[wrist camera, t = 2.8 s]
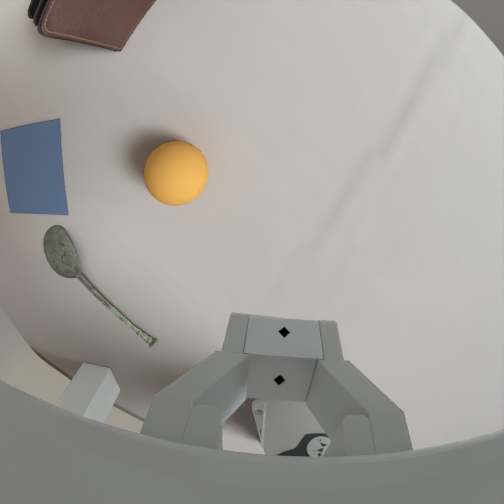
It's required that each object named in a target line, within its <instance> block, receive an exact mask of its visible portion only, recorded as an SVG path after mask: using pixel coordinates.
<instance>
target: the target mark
mask: <svg viewBox="0 0 504 504" xmlns="http://www.w3.org/2000/svg"><path fill="white" fill-rule="evenodd" d="M1 145H2V157H3V167H4V175H5V183H6V189H7V196H8V202H9V208H10V213H33V214H54V215H68V208H67V201H66V193H65V185H64V175H63V164H62V151H61V133H60V119H58V120H52V121H47V122H41V123H36V124H31V125H26V126H21V127H17V128H12V129H8V130H4V131H1Z"/></svg>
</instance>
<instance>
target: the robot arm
mask: <svg viewBox="0 0 504 504" xmlns="http://www.w3.org/2000/svg"><path fill="white" fill-rule="evenodd" d="M246 398H255V400H253V401H252V412H253V415H254V419H255V423H256V427H257V431H258V434H259V438H260V442H261V447H263V448H264V452H265V455H263V454H252V453H242V452H233V451H225V450H223V446H222V424H223V423H224V422H225V421H226V420H227V419H228V418H229V417H230V416H231V415H232V414H233V413H234V412H235V411H236V409H237V408H238V407H239V406H240V405H241V404H242V403H243V402H244V401H245V400H246ZM0 504H504V430H501V431H497V432H494V433H491V434H487V435H483V436H480V437H476V438H472V439H468V440H464V441H459V442H455V443H450V444H445V445H440V446H434V447H429V448H423V449H416V450H413V448H412V444H411V440H410V436H409V431H408V427H407V423H406V419H405V416H404V412H403V411H402V410H401V409H400V408H399V407H398V406H397V405H396V404H395V403H394V402H392V401H391V400H390V399H389V398H388V397H387V396H386V395H385V394H384V393H383V392H382V391H381V390H380V389H379V388H377V387H376V386H375V385H374V384H373V383H372V382H371V381H370V380H369V379H368V378H367V377H366V376H365V375H364V374H363V373H361V372H360V371H359V370H358V369H357V368H356V367H355V366H354V365H353V364H352V363H351V362H350V361H345V360H344V358H343V353H342V347H341V342H340V337H339V332H338V327H337V323H336V322H335V321H326V320H318V321H315V320H300V319H286V318H278V317H269V316H260V315H252V314H250V316H249V314H242V313H233V312H232V313H231V315H230V319H229V323H228V327H227V331H226V335H225V340H224V344H223V348H222V351H215V352H214V353H212V354H211V355H210V356H208V357H207V358H206V359H204V360H203V361H202V362H200V363H199V364H197V365H196V366H195V367H193V368H192V369H190V370H189V371H188V372H186V373H185V374H183V375H182V376H181V377H179V378H178V379H176V380H175V381H174V382H172V383H171V384H169V385H168V386H166V387H165V388H163V389H162V390H161V391H159V392H158V393H156V394H155V395H154V398H153V400H152V403H151V406H150V408H149V411H148V413H147V416H146V418H145V421H144V424H143V426H142V429H141V432H140V434H139V433H135V432H131V431H128V430H124V429H121V428H117V427H114V426H111V425H108V424H104V423H101V422H98V421H95V420H92V419H89V418H86V417H84V416H81V415H78V414H75V413H73V412H70V411H67V410H65V409H62V408H60V407H57V406H55V405H52V404H50V403H48V402H45V401H43V400H41V399H39V398H36V397H34V396H32V395H30V394H28V393H25V392H23V391H21V390H19V389H17V388H15V387H13V386H11V385H9V384H7V383H5V382H3V381H1V380H0Z"/></svg>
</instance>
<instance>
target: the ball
mask: <svg viewBox="0 0 504 504" xmlns="http://www.w3.org/2000/svg"><path fill="white" fill-rule="evenodd" d="M207 179H208V165H207V161H206V159H205V157H204V155H203V154H202V153H201V151H200V150H199V149H198V148H196V147H195V146H194V145H192V144H190V143H187V142H183V141H171V142H167V143H164V144H162V145H160V146H159V147H157V148H156V149H155V150H154V151H153V152H152V153H151V154H150V156H149V157H148V159H147V161H146V164H145V167H144V181H145V184H146V187H147V189H148V191H149V192H150V194H151V195H152V196H153V197H154V198H155V199H157V200H158V201H160V202H162V203H164V204H167V205H183V204H186V203H189V202H191V201H192V200H194V199H195V198H196V197H198V196H199V195H200V194H201V192H202V191H203V189H204V188H205V186H206V183H207Z"/></svg>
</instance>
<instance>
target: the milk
mask: <svg viewBox="0 0 504 504" xmlns="http://www.w3.org/2000/svg"><path fill="white" fill-rule="evenodd" d="M119 392H120V388H119V386H118V384H117V382H116V380H115V377H114V375H113V373H112V371H111V369H110V368H108V367H103V366H98V365H93V364H88V363H83V364H82V365H81V367H80V368H79V370H78V371H77V373H76V374H75V376H74V378H73V379H72V381H71V382H70V384H69V386H68V387H67V389H66V390H65V392H64V393H63V395H62V397H61V398H60V400H59V402H58V403H57V405H56V406H57V407H60V408H62V409H65V410H67V411H70V412H73V413H75V414H78V415H81V416H84V417H86V418H89V419H92V420H95V421H98V422H101V423H105V421H106V419H107V417H108V414H109V413H110V411H111V408H112V407H113V404H114V402H115V400H116V398H117V396H118V394H119Z"/></svg>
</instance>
